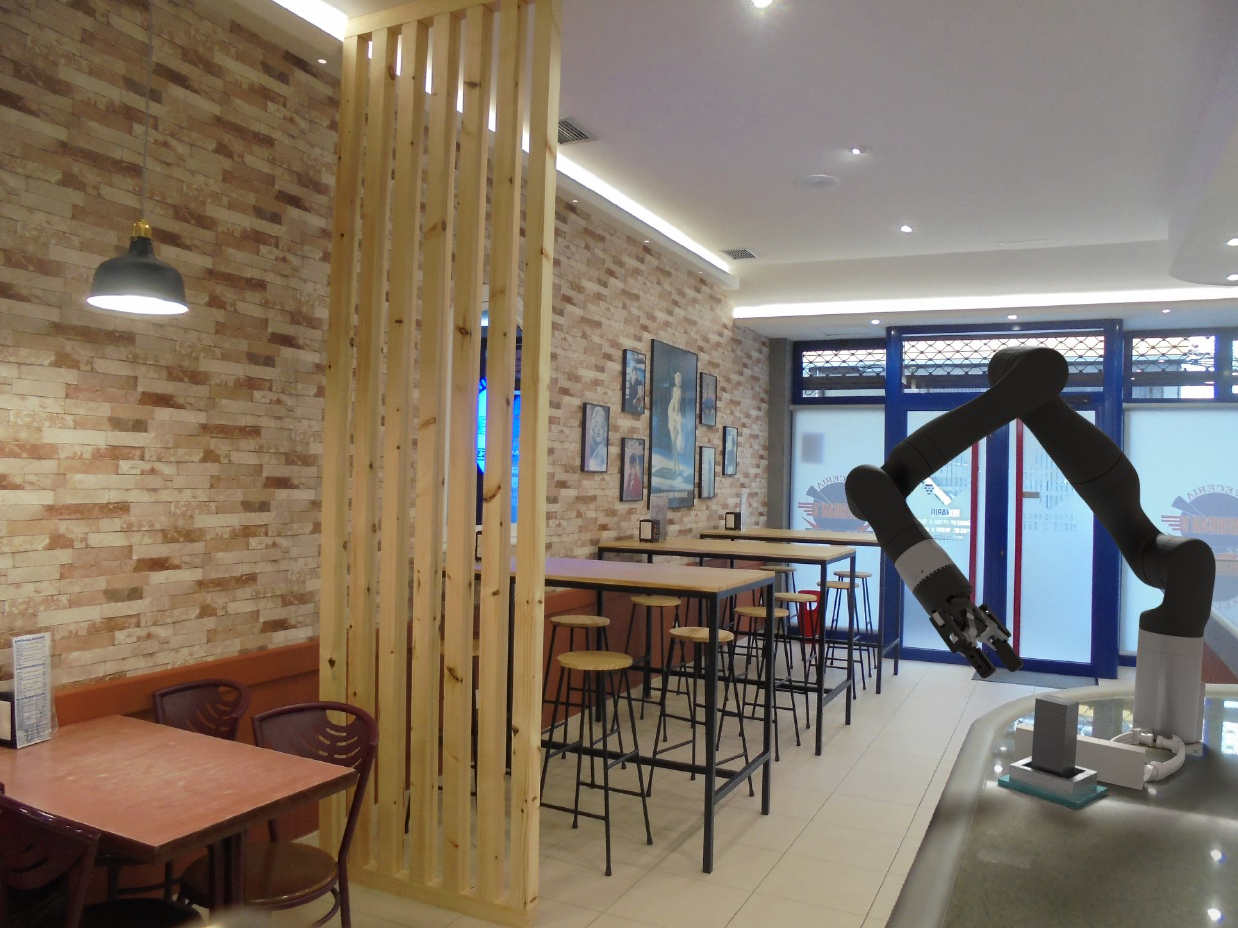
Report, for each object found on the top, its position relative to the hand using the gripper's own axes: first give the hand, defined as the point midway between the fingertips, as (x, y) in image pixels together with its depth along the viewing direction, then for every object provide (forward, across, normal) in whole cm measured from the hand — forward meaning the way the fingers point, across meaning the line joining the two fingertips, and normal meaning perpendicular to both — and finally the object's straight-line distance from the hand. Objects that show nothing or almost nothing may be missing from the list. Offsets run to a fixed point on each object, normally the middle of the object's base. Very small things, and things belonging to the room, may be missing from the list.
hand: (1004, 671), depth 123 cm
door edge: (+14, +10, +5) cm, 19 cm away
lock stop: (+14, 0, +4) cm, 15 cm away
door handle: (+17, +27, +3) cm, 33 cm away
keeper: (+15, 0, +5) cm, 16 cm away
